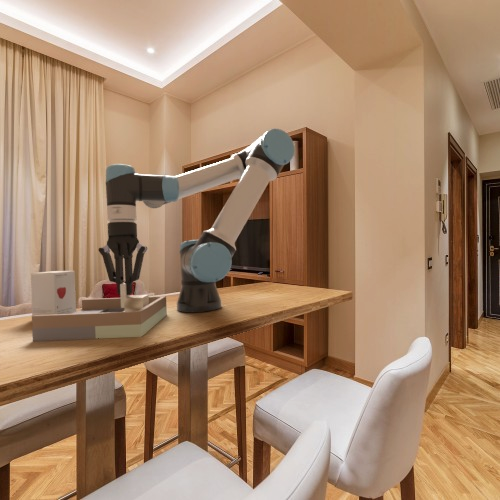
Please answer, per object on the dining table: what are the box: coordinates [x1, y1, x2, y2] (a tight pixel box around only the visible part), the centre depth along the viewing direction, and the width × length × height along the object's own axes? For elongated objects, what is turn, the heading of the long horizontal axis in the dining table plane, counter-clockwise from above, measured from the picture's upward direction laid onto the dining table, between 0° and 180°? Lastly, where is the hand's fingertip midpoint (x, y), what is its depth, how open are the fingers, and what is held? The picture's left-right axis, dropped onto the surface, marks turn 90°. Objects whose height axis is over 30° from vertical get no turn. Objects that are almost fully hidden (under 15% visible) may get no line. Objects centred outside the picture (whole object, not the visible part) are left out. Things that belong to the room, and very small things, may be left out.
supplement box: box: [30, 270, 77, 317], centre depth 102 cm, size 9×9×15 cm
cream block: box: [124, 294, 150, 312], centre depth 87 cm, size 5×5×5 cm
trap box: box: [31, 295, 168, 342], centre depth 87 cm, size 26×24×6 cm
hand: (125, 306), depth 87 cm, fingers closed
